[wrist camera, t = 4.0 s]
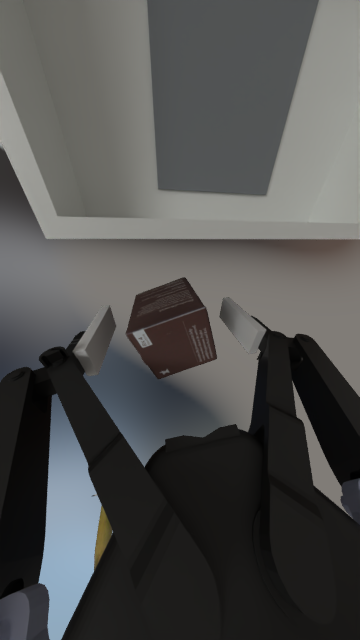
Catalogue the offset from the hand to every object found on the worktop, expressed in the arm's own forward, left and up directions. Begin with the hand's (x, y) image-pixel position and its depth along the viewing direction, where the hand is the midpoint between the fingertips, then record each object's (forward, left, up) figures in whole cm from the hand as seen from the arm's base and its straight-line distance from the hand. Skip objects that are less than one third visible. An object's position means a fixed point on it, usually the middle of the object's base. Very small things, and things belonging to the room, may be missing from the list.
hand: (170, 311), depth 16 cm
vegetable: (-32, -99, -1) cm, 104 cm away
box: (0, 0, -1) cm, 1 cm away
